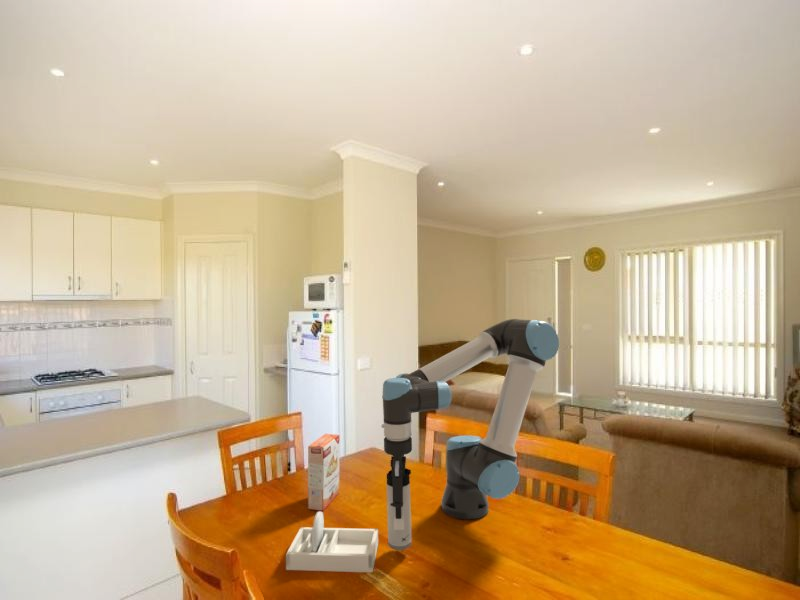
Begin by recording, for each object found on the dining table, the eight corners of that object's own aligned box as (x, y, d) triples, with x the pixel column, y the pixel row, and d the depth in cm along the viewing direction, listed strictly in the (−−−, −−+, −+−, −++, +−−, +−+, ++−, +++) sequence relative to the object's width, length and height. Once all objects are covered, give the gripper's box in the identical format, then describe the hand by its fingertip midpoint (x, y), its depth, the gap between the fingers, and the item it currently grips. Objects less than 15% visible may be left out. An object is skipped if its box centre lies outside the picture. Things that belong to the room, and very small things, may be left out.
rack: (378, 543, 122) (377, 503, 122) (372, 572, 109) (372, 527, 109) (301, 541, 123) (300, 501, 123) (286, 569, 110) (285, 525, 110)
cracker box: (324, 512, 140) (323, 447, 140) (307, 510, 141) (306, 445, 141) (340, 493, 154) (340, 433, 153) (324, 491, 155) (324, 432, 155)
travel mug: (410, 551, 113) (408, 475, 113) (385, 549, 115) (383, 474, 114) (414, 538, 120) (412, 466, 119) (391, 536, 121) (389, 465, 121)
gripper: (387, 426, 127) (389, 504, 127) (380, 449, 107) (382, 542, 108) (412, 425, 126) (414, 504, 126) (410, 449, 107) (412, 542, 107)
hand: (399, 521), depth 117 cm, fingers closed on travel mug, 6 cm apart
